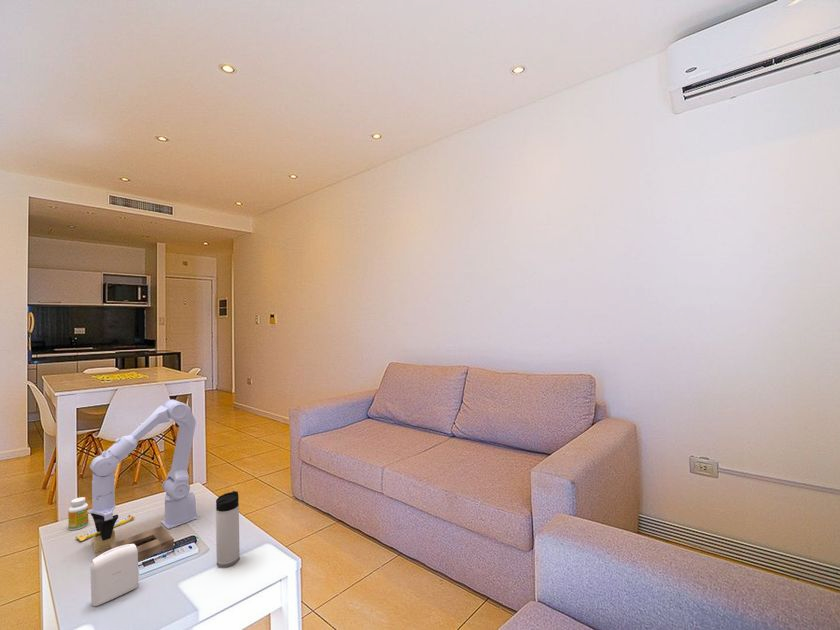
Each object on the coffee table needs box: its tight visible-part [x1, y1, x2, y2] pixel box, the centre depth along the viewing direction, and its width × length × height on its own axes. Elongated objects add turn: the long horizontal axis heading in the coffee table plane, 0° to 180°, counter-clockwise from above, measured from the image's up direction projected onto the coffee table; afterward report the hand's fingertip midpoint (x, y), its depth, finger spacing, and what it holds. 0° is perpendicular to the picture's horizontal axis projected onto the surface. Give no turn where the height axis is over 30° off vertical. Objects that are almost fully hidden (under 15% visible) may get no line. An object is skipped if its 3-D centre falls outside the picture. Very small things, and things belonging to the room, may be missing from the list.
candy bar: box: [75, 514, 136, 542], centre depth 139 cm, size 17×4×2 cm, turn 152°
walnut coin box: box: [109, 525, 175, 562], centre depth 124 cm, size 14×12×4 cm
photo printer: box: [90, 544, 140, 607], centre depth 105 cm, size 10×4×12 cm, turn 140°
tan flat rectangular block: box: [92, 528, 116, 553], centre depth 127 cm, size 5×2×5 cm, turn 139°
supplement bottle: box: [68, 496, 89, 531], centre depth 141 cm, size 5×5×10 cm
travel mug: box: [215, 490, 241, 569], centre depth 119 cm, size 6×7×20 cm
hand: (103, 534), depth 127 cm, fingers open, 7 cm apart
